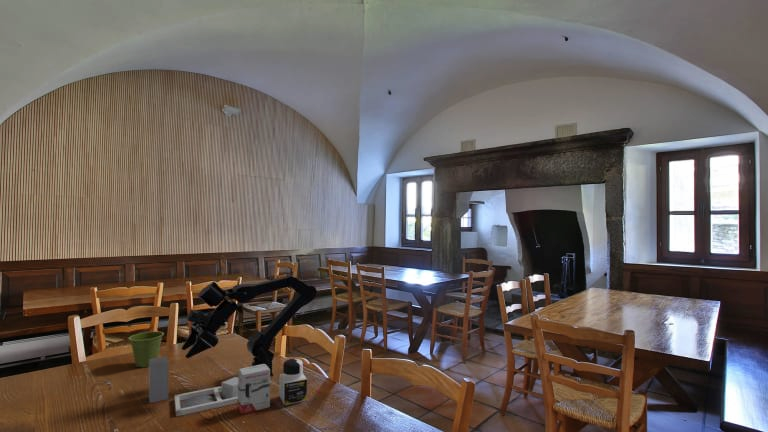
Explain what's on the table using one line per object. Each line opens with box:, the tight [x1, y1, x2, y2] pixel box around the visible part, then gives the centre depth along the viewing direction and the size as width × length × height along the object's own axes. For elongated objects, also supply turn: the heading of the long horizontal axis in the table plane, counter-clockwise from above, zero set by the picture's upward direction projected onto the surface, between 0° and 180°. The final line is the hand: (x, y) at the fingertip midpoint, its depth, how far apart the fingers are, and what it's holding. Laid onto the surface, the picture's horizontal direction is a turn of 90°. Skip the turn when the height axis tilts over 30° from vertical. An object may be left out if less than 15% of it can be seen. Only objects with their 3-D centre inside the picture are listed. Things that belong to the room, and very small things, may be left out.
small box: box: [220, 376, 238, 399], centre depth 127 cm, size 6×6×5 cm
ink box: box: [237, 364, 271, 415], centre depth 119 cm, size 8×5×12 cm, turn 123°
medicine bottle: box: [278, 358, 308, 406], centre depth 125 cm, size 7×7×12 cm
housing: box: [174, 386, 238, 418], centre depth 124 cm, size 22×12×2 cm, turn 120°
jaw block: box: [148, 356, 169, 404], centre depth 125 cm, size 5×5×12 cm
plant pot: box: [128, 330, 165, 368], centre depth 153 cm, size 12×12×11 cm
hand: (184, 353), depth 129 cm, fingers open, 9 cm apart
